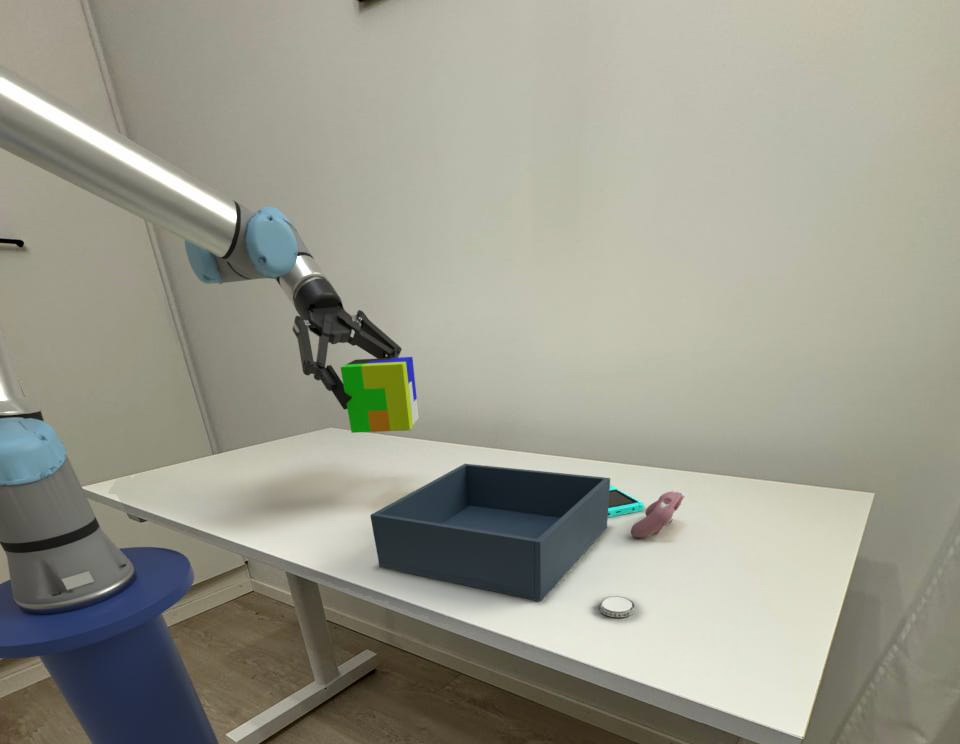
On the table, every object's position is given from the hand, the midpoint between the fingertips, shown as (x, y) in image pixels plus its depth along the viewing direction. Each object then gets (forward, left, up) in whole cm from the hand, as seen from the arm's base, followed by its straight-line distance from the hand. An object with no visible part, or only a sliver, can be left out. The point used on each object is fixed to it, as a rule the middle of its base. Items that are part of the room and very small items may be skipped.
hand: (379, 397), depth 95 cm
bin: (+28, -12, -18) cm, 36 cm away
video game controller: (+48, +3, -18) cm, 52 cm away
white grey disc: (+50, -23, -18) cm, 58 cm away
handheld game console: (+35, +12, -18) cm, 42 cm away
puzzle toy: (+1, 0, -5) cm, 5 cm away
